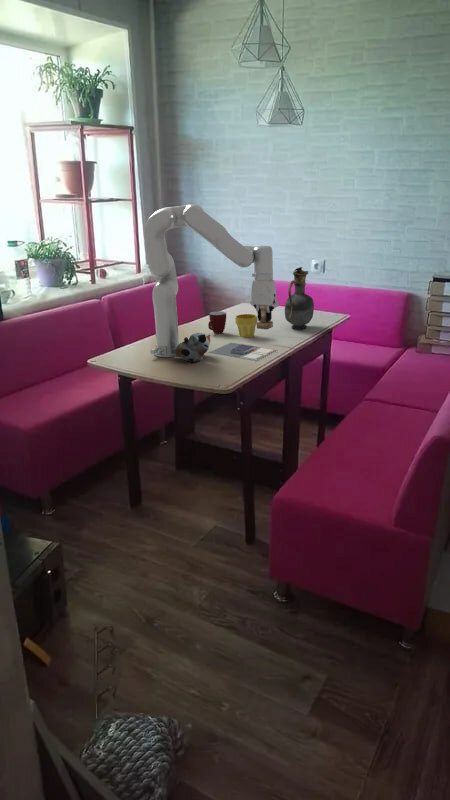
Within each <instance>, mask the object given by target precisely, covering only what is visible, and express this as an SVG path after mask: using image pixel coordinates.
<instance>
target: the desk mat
mask: <svg viewBox="0 0 450 800" xmlns="http://www.w3.org/2000/svg"><path fill="white" fill-rule="evenodd" d="M241 344H243V343H236V342H229V343H227V344H225V345H222V346H220V347H217V348H215V349H213V350H210V351H209V352H208V351H207V353H209V354H212V355H213V354H215V355H220V356H225V357H230V358H232V357H233V358H235V359H236V358H237V359H243V360H246V359H245V358H240V357H241V356H243V355H241V354H235V353H230V349H232V348H235V347H237V346H239V345H241ZM243 345H245V344H243ZM248 345H249V344H248ZM249 346H251V345H249ZM254 346H255V345H254ZM260 347H261V346H255V350H256V349H258V348H260ZM253 351H254V350H253ZM276 351H277V349H276V350H275V351H273V352H271V353H269V354H267V355H265V356H263V357H261V358H259V359H257V360H253V361H254V362H255V363H257V362H259V361H260V359H262V358H264V357H266V356H268V355H270V354H272V353H274V352H275V353H277V352H276ZM247 360H249V361H252V360H251V359H247Z"/></svg>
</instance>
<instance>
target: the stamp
mask: <svg viewBox="0 0 450 800" xmlns="http://www.w3.org/2000/svg"><path fill="white" fill-rule="evenodd" d="M259 308H260V310H261V321H257V324H256V329H260V330H267V331H268V330H269V329H272V328H273V327H274V321H273V320H271V321H269V322H266V312H267V307H266V306H265V305H260V306H259Z"/></svg>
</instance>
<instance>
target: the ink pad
mask: <svg viewBox="0 0 450 800" xmlns="http://www.w3.org/2000/svg"><path fill="white" fill-rule="evenodd" d="M240 344H241V345H239V346H237V347H235V348H232V349H230V353H235V354H241V355H245V354H247V353H249V352H251V351H253V350H255V345H250V346H249V344H244V345H243V343H240Z"/></svg>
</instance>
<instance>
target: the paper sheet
mask: <svg viewBox="0 0 450 800" xmlns="http://www.w3.org/2000/svg"><path fill="white" fill-rule="evenodd" d="M259 347H260V348H258V349H256V350H254V351H251V352H249V353H247V354H245V355H243V356H241V357H240V358H239V359H242V358H245V359H244V360H248V359H251V360H250V361H254V360H256V361H258V360H260V359H262V358H264V357H266V356H268V355H270V354H272V353H274V352H275V350H276V351H277V349H276V348H275V349H274V348H270V347H263V346H259ZM273 351H274V352H273ZM271 352H272V353H271ZM269 353H270V354H269ZM267 354H268V355H267ZM265 355H266V356H265ZM263 356H264V357H263ZM261 357H262V358H261ZM259 358H260V359H259ZM257 359H258V360H257Z"/></svg>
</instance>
